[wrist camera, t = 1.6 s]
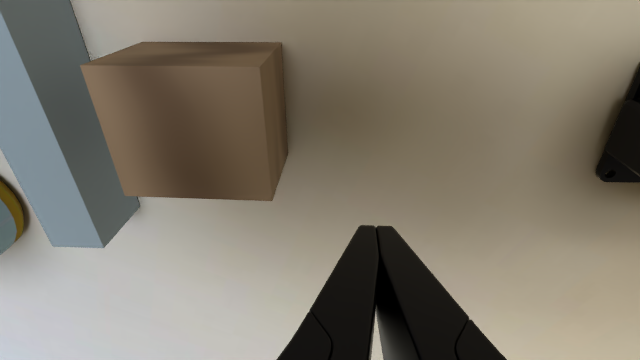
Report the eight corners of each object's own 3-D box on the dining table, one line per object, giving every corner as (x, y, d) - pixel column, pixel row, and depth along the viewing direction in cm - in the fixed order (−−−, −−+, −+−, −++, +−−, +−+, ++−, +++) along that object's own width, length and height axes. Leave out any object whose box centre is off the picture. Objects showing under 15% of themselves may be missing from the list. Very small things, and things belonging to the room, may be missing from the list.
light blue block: (52, -50, 16) (-29, -54, 13) (140, 206, 23) (103, 248, 20) (-10, -48, 16) (-106, -51, 13) (96, 205, 24) (52, 246, 20)
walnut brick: (281, 41, 18) (259, 66, 13) (288, 151, 21) (272, 200, 16) (143, 41, 18) (79, 65, 14) (170, 149, 21) (124, 195, 17)
